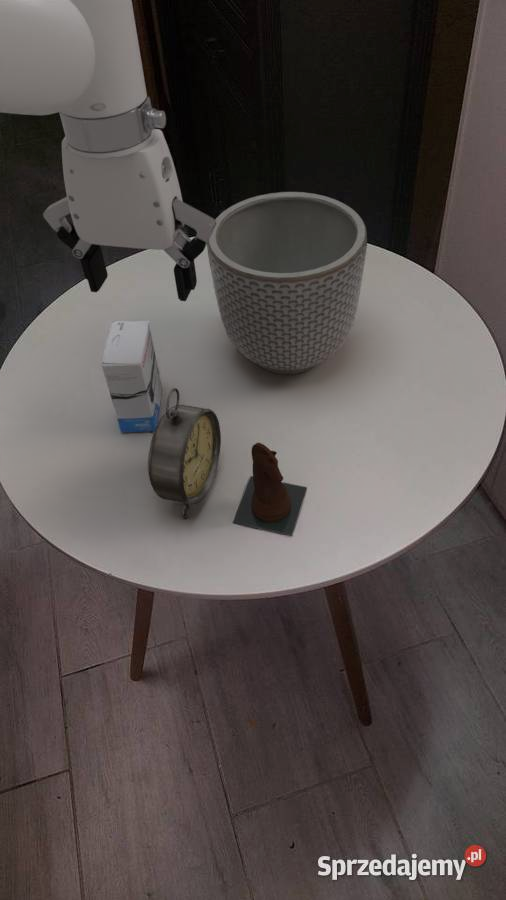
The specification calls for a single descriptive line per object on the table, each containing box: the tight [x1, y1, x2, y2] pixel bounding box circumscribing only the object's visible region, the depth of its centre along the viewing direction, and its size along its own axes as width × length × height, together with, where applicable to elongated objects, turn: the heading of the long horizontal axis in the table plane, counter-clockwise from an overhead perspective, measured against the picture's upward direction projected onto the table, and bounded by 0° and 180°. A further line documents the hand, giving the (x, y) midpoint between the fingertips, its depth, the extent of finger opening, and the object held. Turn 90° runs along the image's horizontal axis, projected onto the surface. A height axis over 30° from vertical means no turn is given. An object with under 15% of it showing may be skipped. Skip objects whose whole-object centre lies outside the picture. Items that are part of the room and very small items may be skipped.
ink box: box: [101, 320, 163, 434], centre depth 87 cm, size 8×5×12 cm, turn 179°
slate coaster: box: [232, 475, 308, 537], centre depth 80 cm, size 7×7×1 cm
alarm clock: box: [147, 387, 222, 520], centre depth 76 cm, size 11×5×16 cm, turn 161°
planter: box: [206, 191, 368, 375], centre depth 90 cm, size 20×20×19 cm
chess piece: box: [251, 442, 291, 522], centre depth 76 cm, size 5×5×10 cm
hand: (142, 288), depth 72 cm, fingers open, 9 cm apart
